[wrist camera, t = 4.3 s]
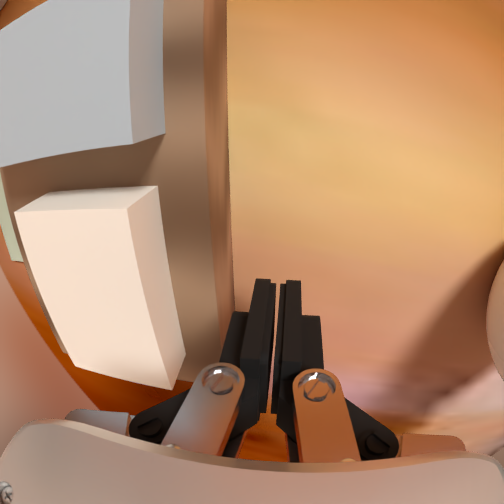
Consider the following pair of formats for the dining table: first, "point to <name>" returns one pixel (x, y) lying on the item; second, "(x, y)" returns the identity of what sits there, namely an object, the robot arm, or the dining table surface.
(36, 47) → the gray rectangular block
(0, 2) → the house plant
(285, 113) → the dining table surface
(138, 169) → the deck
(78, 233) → the cream block
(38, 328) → the dining table surface
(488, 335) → the vase
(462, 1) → the dining table surface
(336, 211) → the dining table surface
